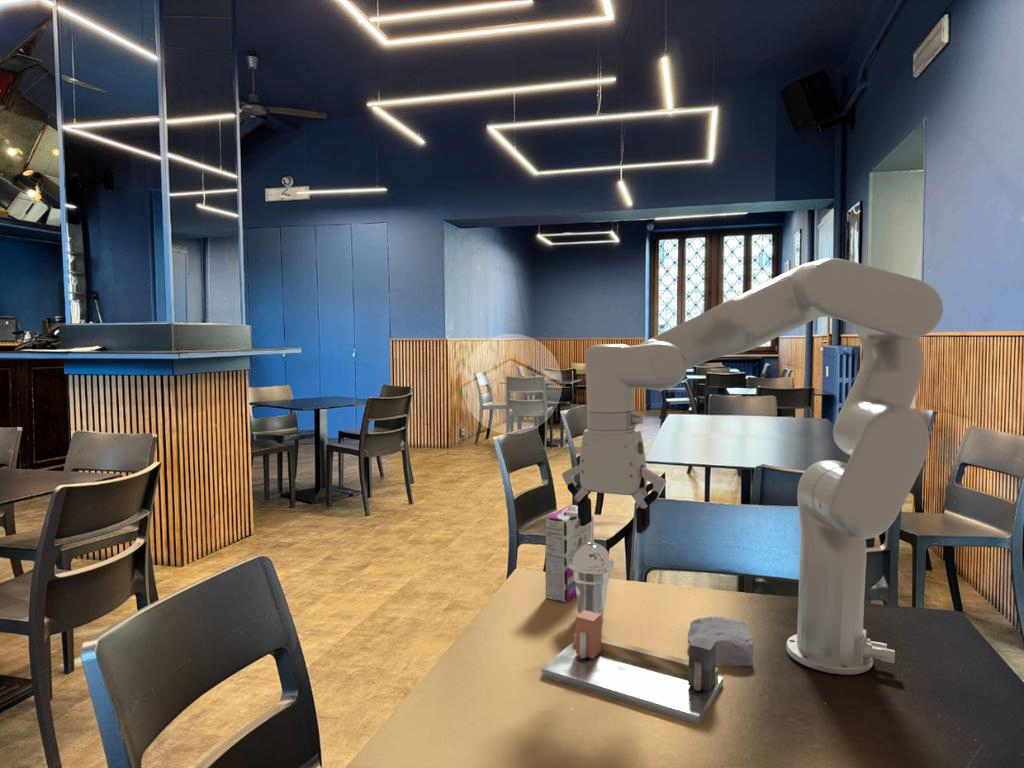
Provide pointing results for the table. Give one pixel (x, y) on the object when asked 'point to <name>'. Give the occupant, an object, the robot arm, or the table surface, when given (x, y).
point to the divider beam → (673, 660)
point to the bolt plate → (633, 683)
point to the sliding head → (588, 634)
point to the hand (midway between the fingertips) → (613, 527)
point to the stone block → (725, 639)
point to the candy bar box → (562, 551)
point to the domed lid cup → (590, 573)
